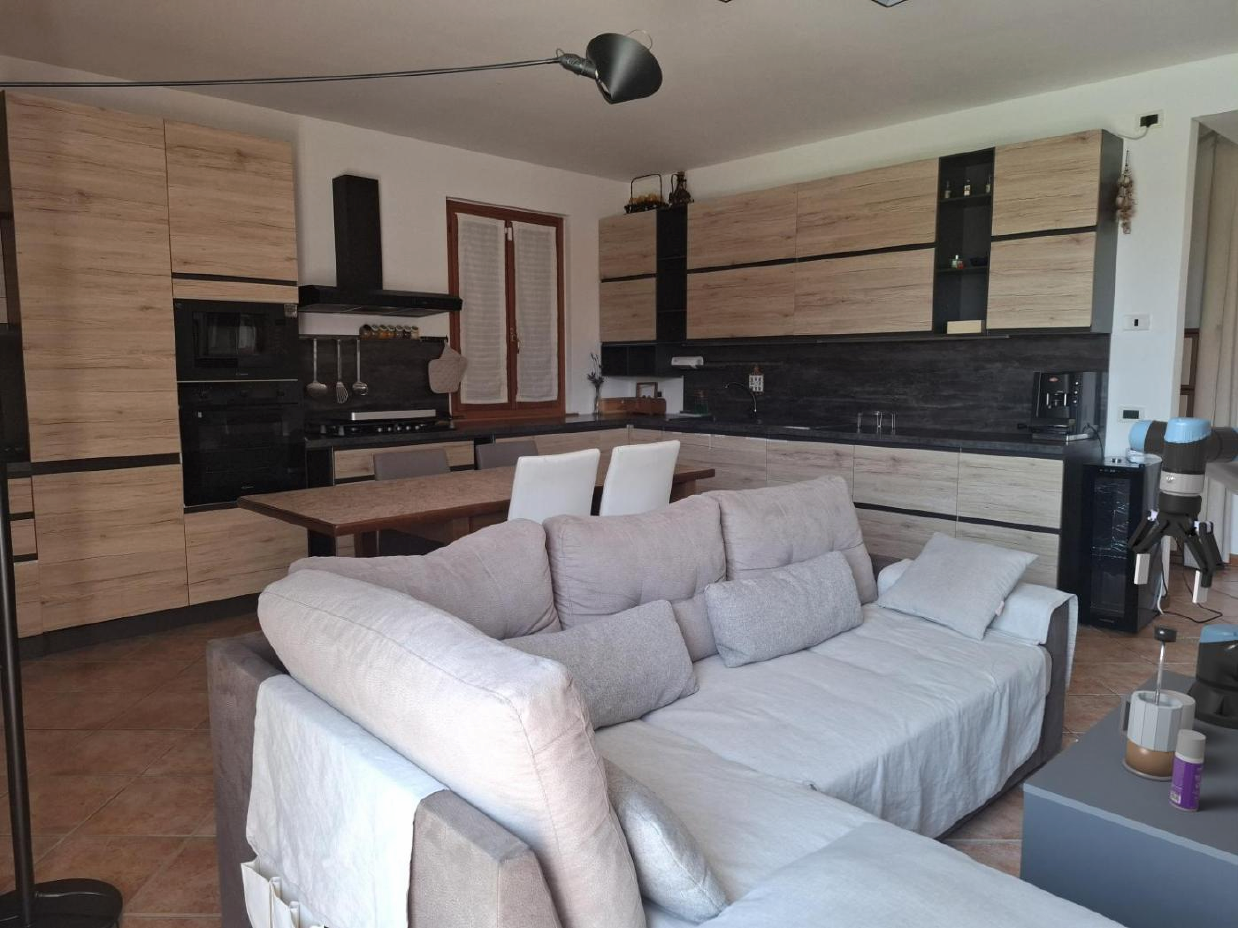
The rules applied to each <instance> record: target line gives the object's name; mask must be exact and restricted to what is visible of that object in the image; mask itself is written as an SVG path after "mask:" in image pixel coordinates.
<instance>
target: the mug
mask: <svg viewBox="0 0 1238 928" xmlns="http://www.w3.org/2000/svg"><path fill="white" fill-rule="evenodd" d="M1152 692H1156V689H1155V690H1154V691H1152ZM1160 693H1162V694H1166V695H1169V696H1171V697H1174V698H1176V699H1178V700H1179V701H1180V702H1181V703H1182V704H1183V710H1182V718H1181V727H1180V730H1182V729H1186V730H1192V731H1193V727H1194V718H1195V717H1194V712H1195V704H1196V702H1195V700H1194V699H1193V698H1192V697H1190V696H1188V695H1187V693H1186V694H1185V693H1184V692H1183V693H1182V692H1179V691H1175V690H1170V689H1161V691H1160Z"/></svg>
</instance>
